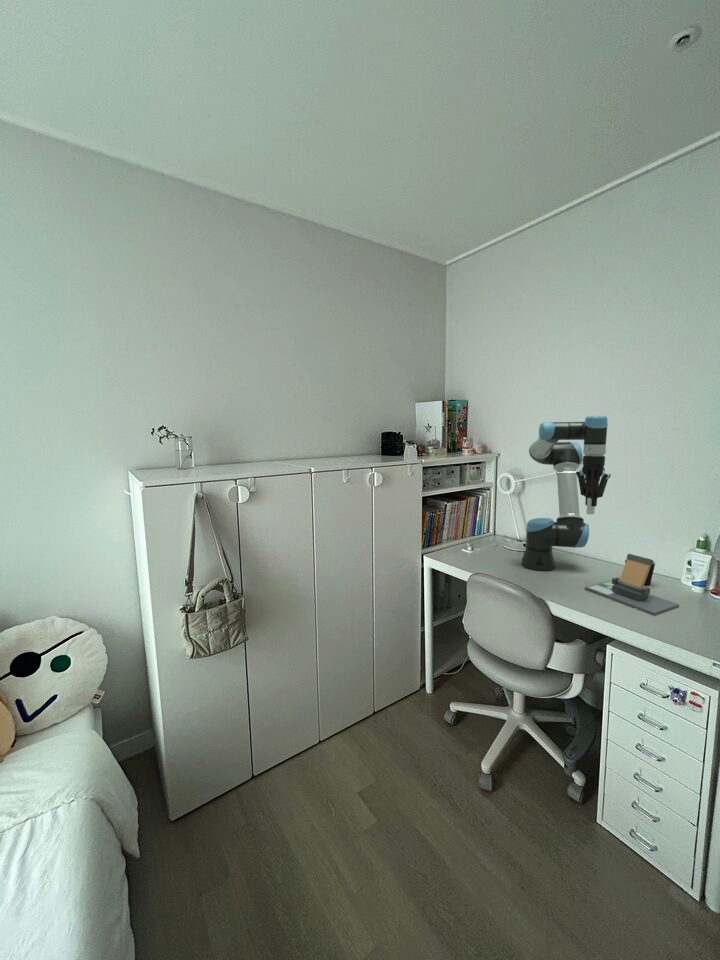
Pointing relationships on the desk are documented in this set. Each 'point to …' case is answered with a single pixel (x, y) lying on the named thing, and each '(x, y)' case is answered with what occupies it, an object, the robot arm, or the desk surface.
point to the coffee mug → (649, 577)
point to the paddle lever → (635, 572)
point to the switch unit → (632, 597)
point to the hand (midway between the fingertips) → (590, 513)
